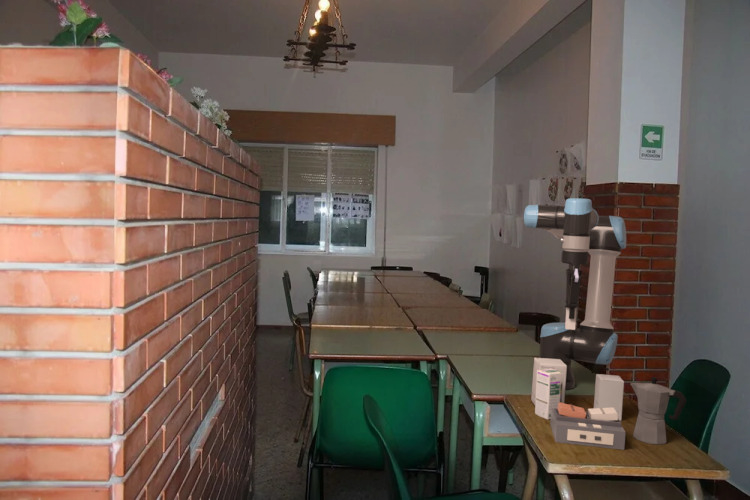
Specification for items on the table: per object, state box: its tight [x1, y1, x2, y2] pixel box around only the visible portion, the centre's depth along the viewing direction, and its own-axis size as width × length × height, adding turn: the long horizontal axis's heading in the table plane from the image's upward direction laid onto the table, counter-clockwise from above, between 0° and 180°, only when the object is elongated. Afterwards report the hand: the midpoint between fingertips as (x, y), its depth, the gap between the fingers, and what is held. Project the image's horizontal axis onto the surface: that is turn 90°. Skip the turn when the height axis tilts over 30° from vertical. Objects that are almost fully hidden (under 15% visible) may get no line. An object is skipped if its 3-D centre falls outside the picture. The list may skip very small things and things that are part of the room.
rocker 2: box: [587, 407, 618, 421], centre depth 165 cm, size 5×7×2 cm
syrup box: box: [534, 368, 563, 421], centre depth 182 cm, size 6×6×14 cm
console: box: [549, 408, 626, 451], centre depth 166 cm, size 14×18×6 cm
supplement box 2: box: [593, 373, 625, 422], centre depth 184 cm, size 7×7×13 cm
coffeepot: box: [629, 376, 687, 446], centre depth 165 cm, size 15×9×18 cm, turn 43°
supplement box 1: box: [530, 357, 567, 406], centre depth 193 cm, size 9×9×15 cm
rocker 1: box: [557, 402, 587, 418], centre depth 166 cm, size 5×7×2 cm
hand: (570, 328), depth 173 cm, fingers closed
